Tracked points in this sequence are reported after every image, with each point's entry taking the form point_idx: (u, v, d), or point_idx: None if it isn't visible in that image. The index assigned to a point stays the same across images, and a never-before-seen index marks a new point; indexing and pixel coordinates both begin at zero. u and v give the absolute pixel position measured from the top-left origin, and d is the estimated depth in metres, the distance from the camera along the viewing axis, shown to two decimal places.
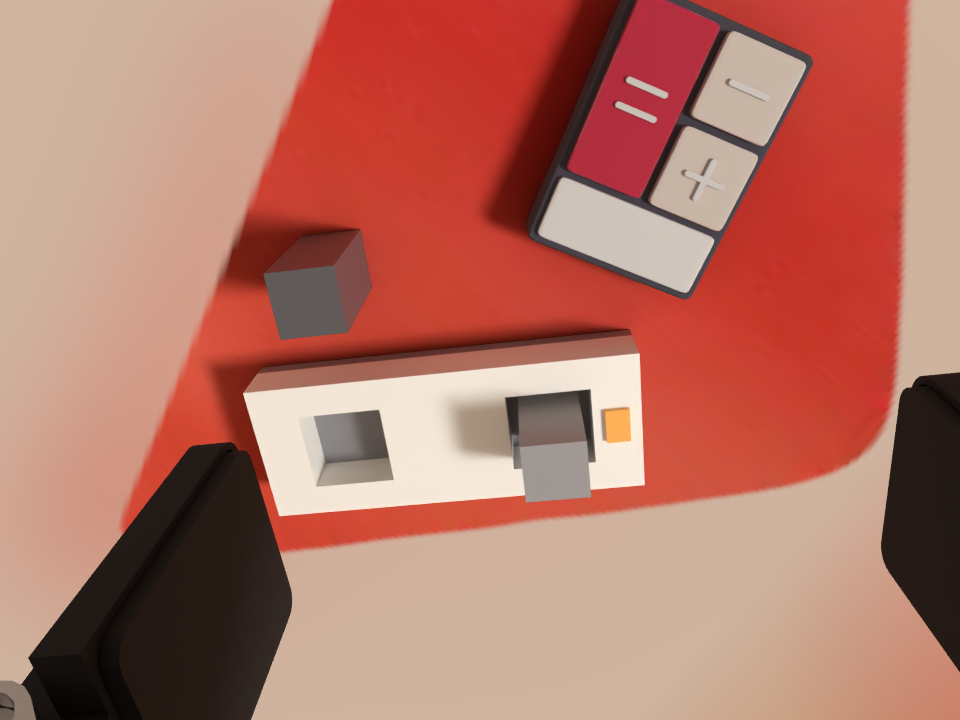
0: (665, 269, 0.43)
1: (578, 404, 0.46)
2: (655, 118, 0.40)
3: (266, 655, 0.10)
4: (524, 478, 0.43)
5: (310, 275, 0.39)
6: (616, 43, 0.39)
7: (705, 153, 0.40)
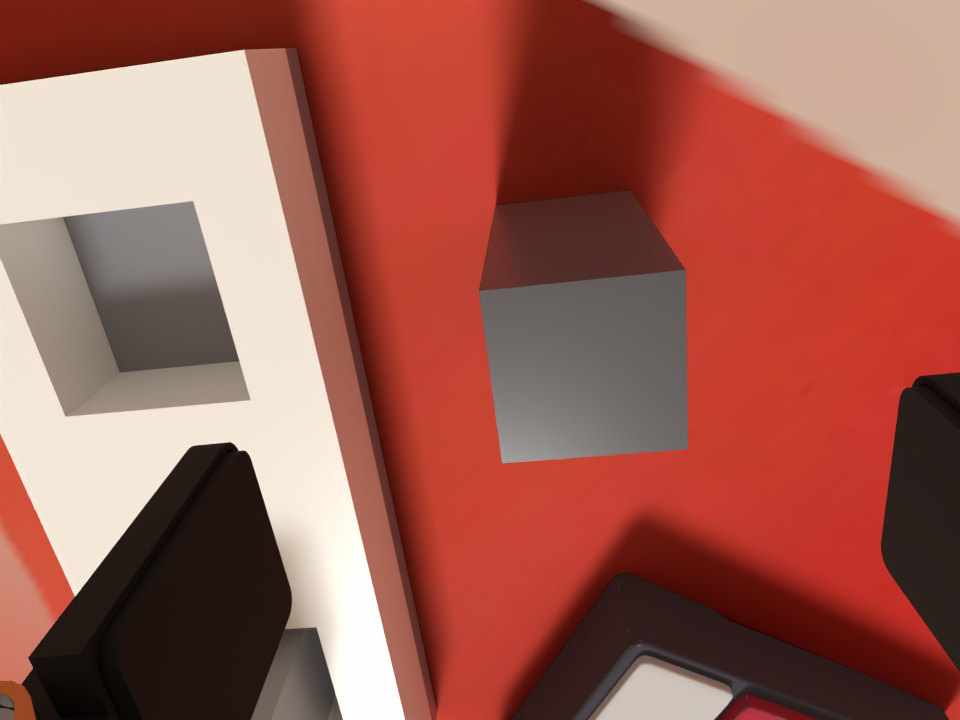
0: None
1: None
2: None
3: (266, 655, 0.10)
4: None
5: (667, 392, 0.15)
6: None
7: None
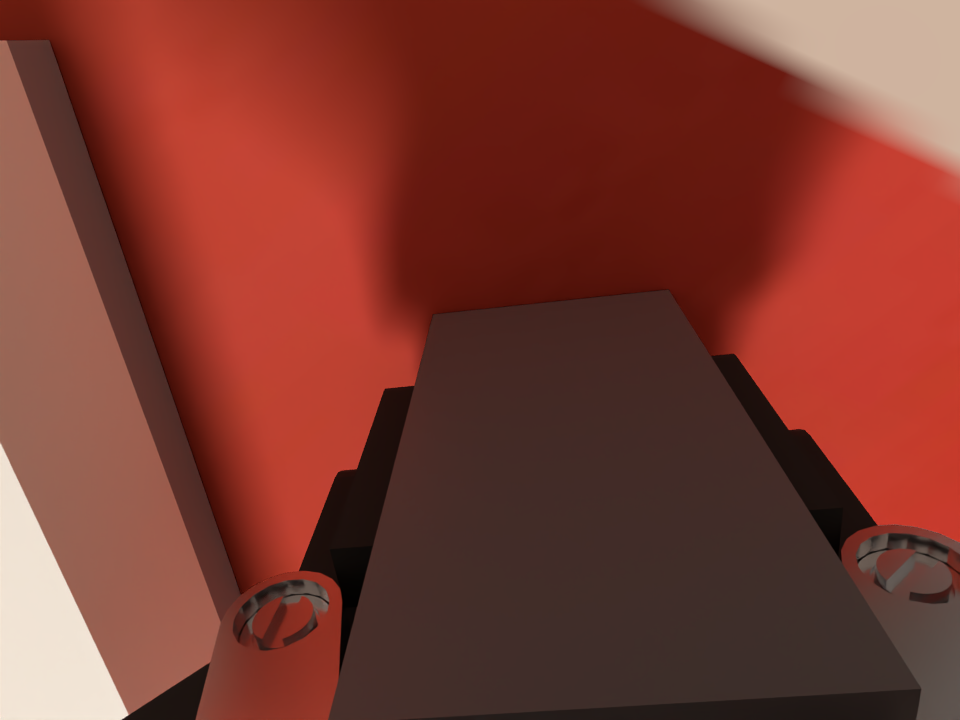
0: None
1: None
2: None
3: None
4: None
5: None
6: None
7: None
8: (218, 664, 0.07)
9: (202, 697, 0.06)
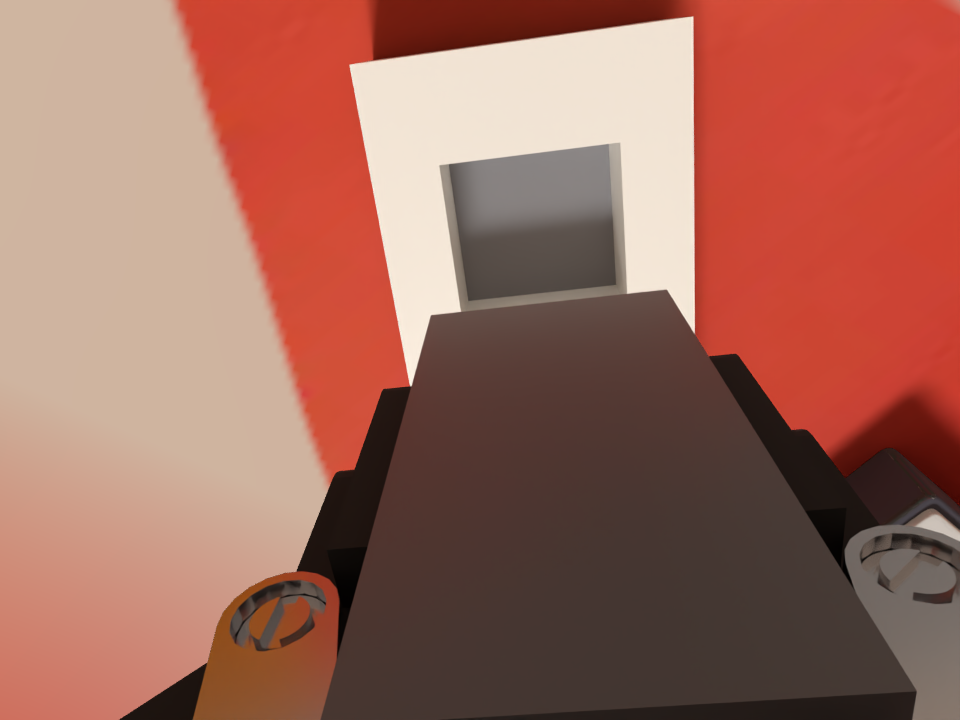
0: None
1: None
2: None
3: None
4: None
5: None
6: None
7: None
8: (215, 665, 0.06)
9: (200, 699, 0.06)
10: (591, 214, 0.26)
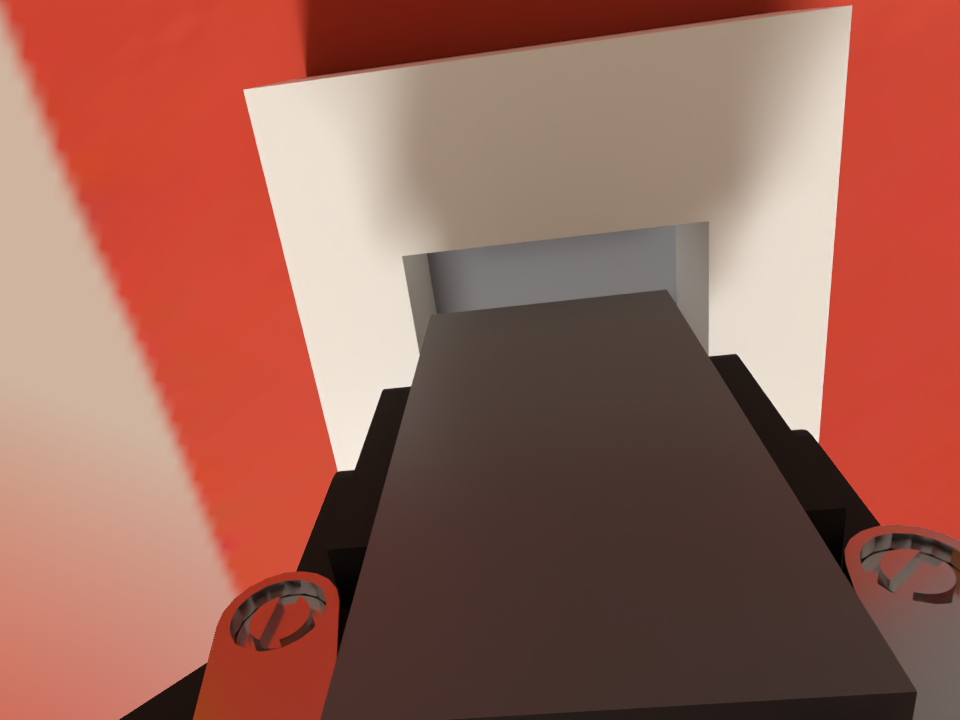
0: None
1: None
2: None
3: None
4: None
5: None
6: None
7: None
8: (215, 665, 0.06)
9: (200, 698, 0.06)
10: None
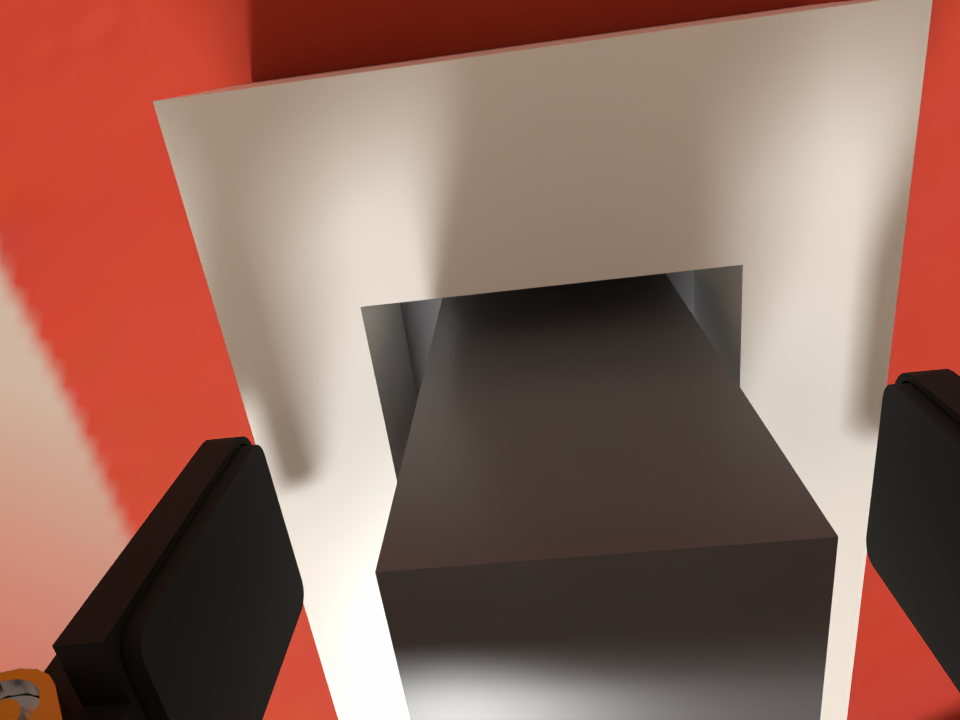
0: None
1: None
2: None
3: (279, 647, 0.10)
4: None
5: None
6: None
7: None
8: None
9: None
10: None
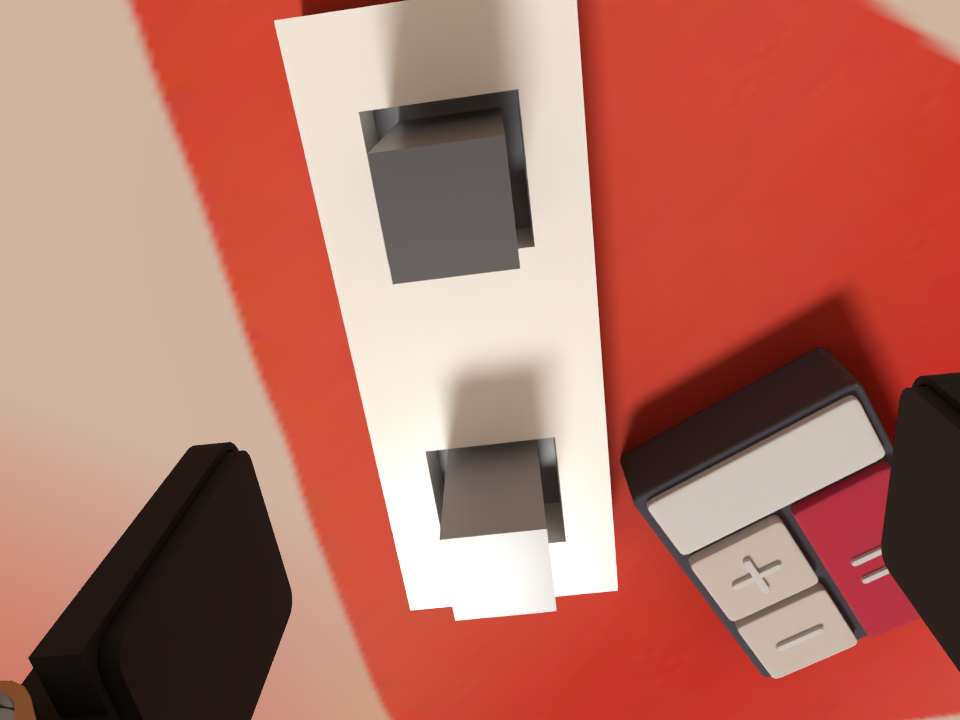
0: (693, 499, 0.32)
1: None
2: (855, 565, 0.34)
3: (266, 655, 0.10)
4: (486, 536, 0.26)
5: (501, 226, 0.21)
6: None
7: (778, 586, 0.34)
8: None
9: None
10: None
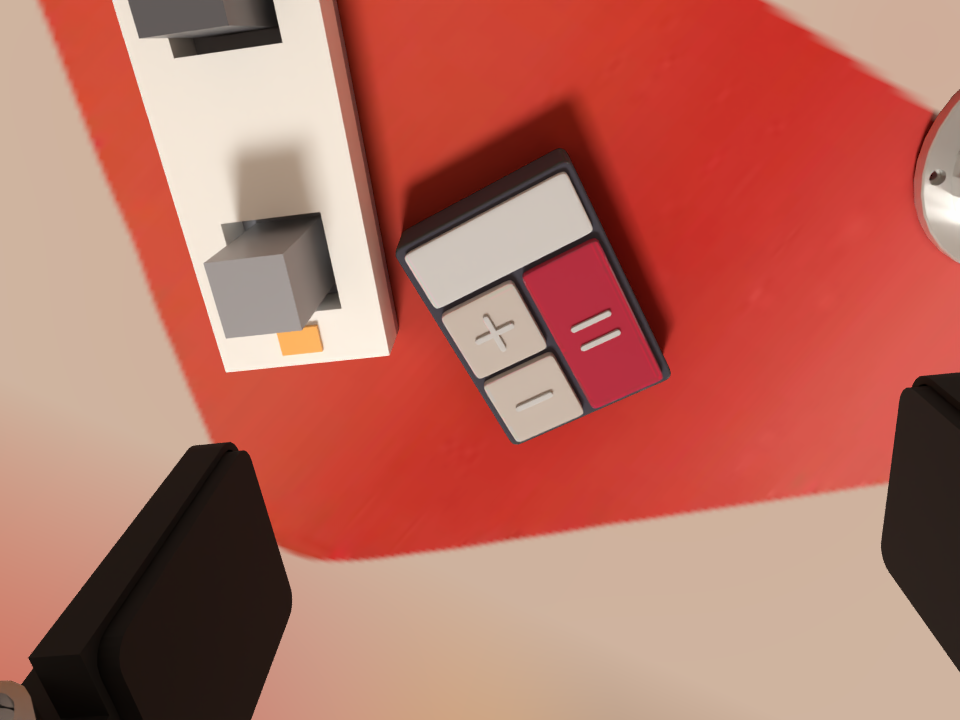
0: (441, 254, 0.40)
1: (322, 298, 0.40)
2: (573, 331, 0.41)
3: (266, 655, 0.10)
4: (238, 260, 0.35)
5: None
6: (646, 337, 0.42)
7: (513, 347, 0.42)
8: None
9: None
10: None
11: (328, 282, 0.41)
